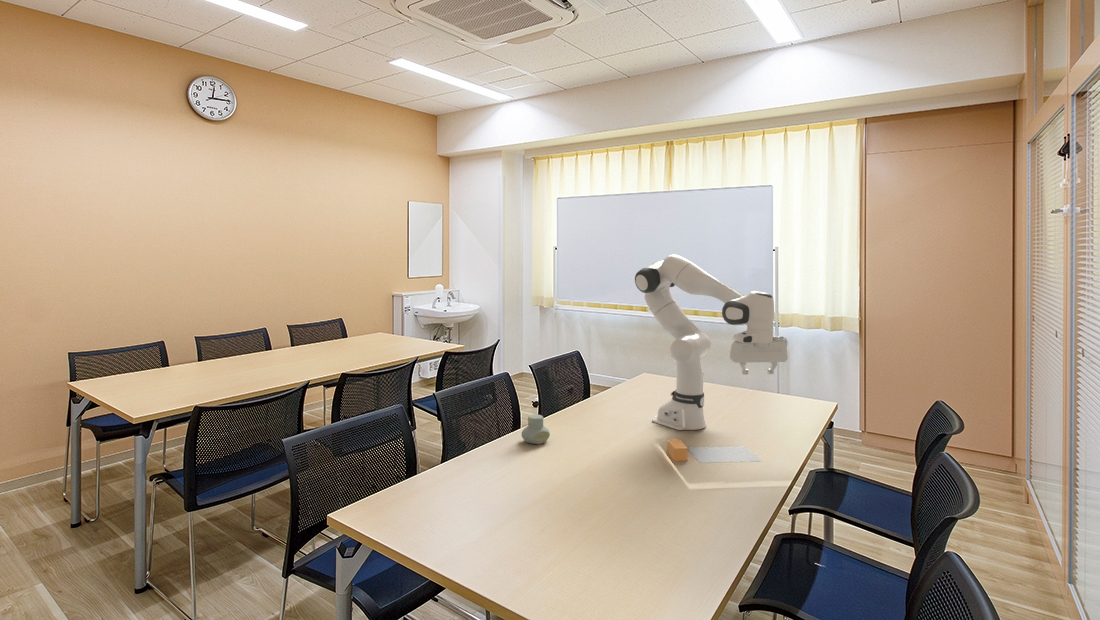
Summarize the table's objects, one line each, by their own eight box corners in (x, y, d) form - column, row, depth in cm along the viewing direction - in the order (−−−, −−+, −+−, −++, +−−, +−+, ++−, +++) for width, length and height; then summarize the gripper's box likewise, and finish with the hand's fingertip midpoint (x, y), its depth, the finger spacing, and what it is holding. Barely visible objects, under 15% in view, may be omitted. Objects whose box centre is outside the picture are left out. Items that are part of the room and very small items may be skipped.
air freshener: (530, 447, 204) (530, 421, 203) (518, 441, 211) (517, 416, 210) (553, 441, 211) (553, 416, 209) (541, 435, 217) (541, 411, 216)
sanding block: (686, 464, 189) (687, 448, 188) (674, 465, 189) (674, 448, 188) (679, 455, 198) (679, 439, 197) (666, 455, 197) (667, 439, 197)
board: (699, 466, 187) (699, 462, 187) (686, 451, 201) (686, 447, 201) (761, 465, 188) (762, 461, 188) (744, 450, 202) (744, 446, 202)
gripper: (783, 334, 200) (781, 371, 202) (729, 335, 199) (727, 372, 200) (792, 337, 194) (789, 375, 195) (736, 338, 192) (734, 376, 194)
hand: (757, 374), depth 198 cm, fingers open, 8 cm apart
